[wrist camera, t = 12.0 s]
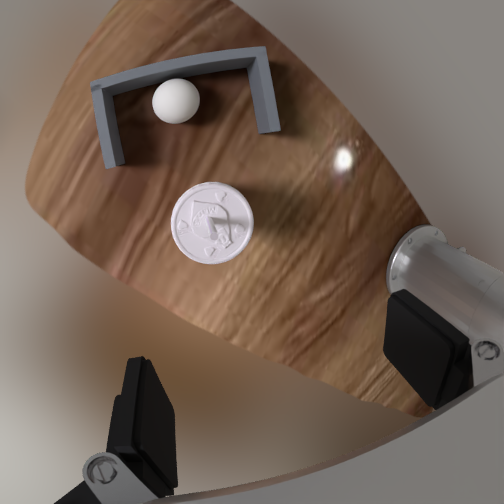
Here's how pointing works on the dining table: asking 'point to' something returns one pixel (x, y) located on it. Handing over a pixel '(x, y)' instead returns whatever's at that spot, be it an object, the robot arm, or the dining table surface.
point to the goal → (178, 69)
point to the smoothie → (212, 223)
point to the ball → (176, 101)
